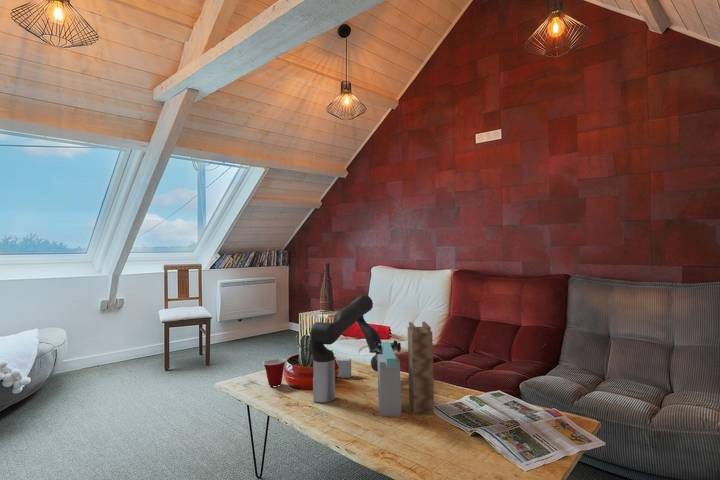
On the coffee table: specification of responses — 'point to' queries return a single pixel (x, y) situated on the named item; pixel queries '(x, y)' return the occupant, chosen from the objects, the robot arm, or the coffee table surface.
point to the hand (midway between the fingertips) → (386, 342)
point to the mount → (420, 369)
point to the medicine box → (344, 368)
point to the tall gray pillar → (389, 388)
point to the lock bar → (388, 355)
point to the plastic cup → (274, 371)
